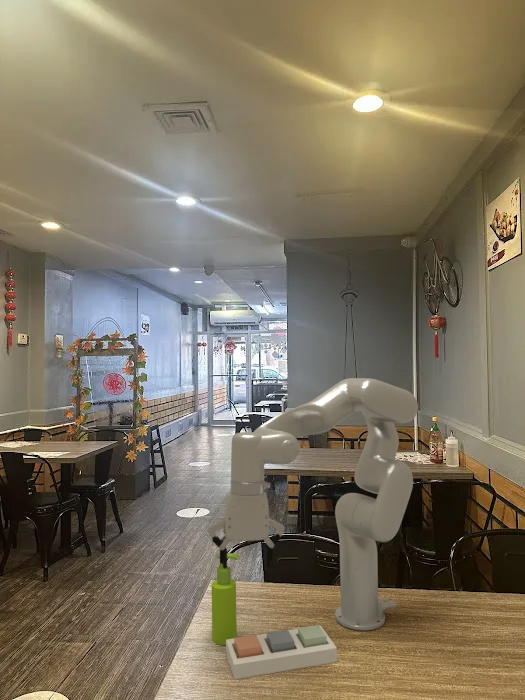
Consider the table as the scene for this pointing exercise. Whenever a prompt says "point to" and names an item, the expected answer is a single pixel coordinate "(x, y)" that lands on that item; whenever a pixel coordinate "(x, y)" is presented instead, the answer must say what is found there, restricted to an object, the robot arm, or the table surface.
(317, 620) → the table surface
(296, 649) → the button panel
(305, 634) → the sage button
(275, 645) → the slate button
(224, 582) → the soap dispenser
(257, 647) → the terracotta button
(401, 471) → the robot arm
